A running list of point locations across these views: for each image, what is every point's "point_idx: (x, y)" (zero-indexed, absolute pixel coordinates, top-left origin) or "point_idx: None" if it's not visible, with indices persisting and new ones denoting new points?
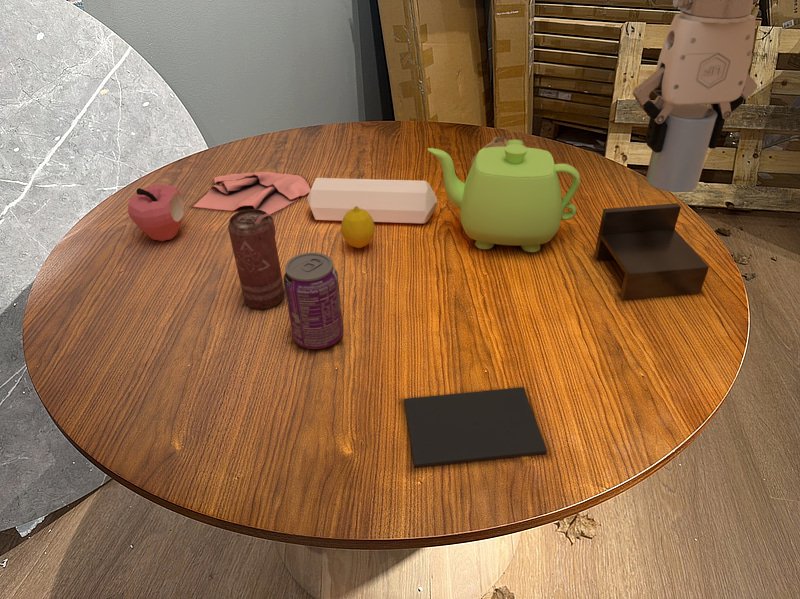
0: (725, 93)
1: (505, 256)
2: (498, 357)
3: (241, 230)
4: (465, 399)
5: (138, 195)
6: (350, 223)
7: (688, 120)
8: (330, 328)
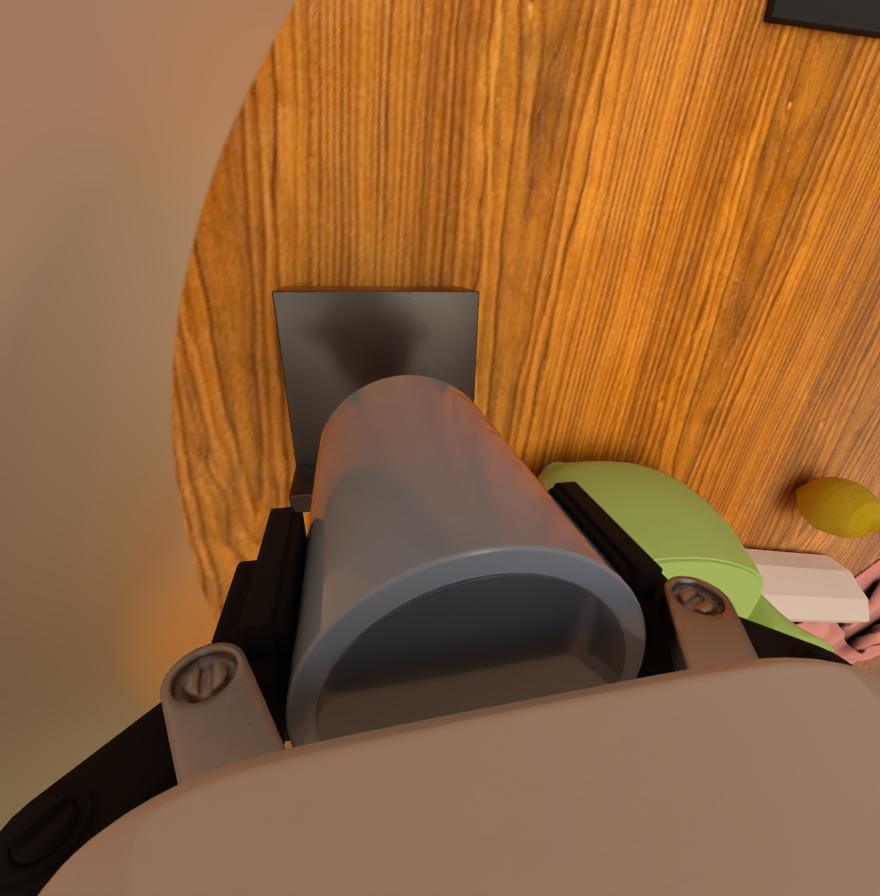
0: (316, 879)
1: (607, 452)
2: (752, 142)
3: None
4: (873, 8)
5: None
6: (878, 500)
7: (586, 555)
8: None
